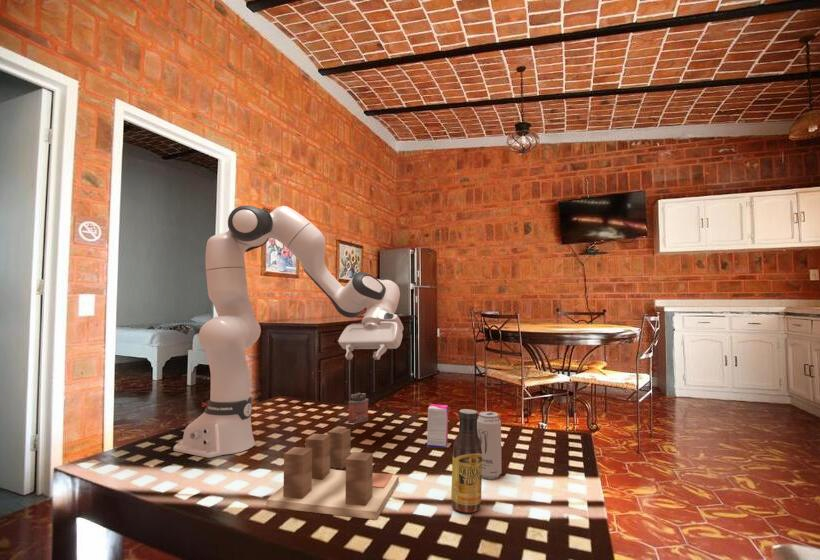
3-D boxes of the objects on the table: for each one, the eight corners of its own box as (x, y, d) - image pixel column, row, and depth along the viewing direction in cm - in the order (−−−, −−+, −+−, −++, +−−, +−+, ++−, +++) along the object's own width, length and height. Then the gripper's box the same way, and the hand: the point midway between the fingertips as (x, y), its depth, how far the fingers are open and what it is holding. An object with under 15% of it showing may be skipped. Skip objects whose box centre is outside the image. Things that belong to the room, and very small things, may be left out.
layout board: (266, 506, 89) (267, 455, 89) (305, 473, 106) (306, 430, 107) (376, 519, 83) (376, 465, 84) (398, 482, 101) (398, 437, 102)
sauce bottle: (458, 516, 85) (457, 415, 86) (446, 502, 91) (446, 408, 92) (488, 512, 86) (487, 413, 88) (474, 498, 92) (474, 406, 94)
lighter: (365, 418, 157) (365, 391, 158) (370, 420, 155) (370, 392, 155) (346, 422, 152) (346, 393, 153) (351, 424, 150) (351, 395, 150)
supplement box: (446, 448, 125) (446, 409, 125) (426, 447, 126) (426, 407, 127) (448, 442, 130) (448, 404, 131) (429, 440, 132) (429, 403, 132)
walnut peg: (327, 466, 110) (327, 431, 111) (336, 461, 114) (336, 427, 115) (341, 469, 109) (342, 433, 109) (350, 463, 113) (350, 429, 113)
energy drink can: (471, 474, 106) (471, 413, 106) (487, 468, 109) (487, 409, 110) (491, 482, 101) (490, 418, 102) (506, 475, 105) (505, 414, 106)
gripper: (344, 317, 136) (327, 351, 126) (401, 314, 127) (388, 351, 118) (352, 330, 139) (336, 364, 130) (408, 328, 131) (396, 365, 122)
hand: (361, 358), depth 124 cm, fingers open, 8 cm apart
